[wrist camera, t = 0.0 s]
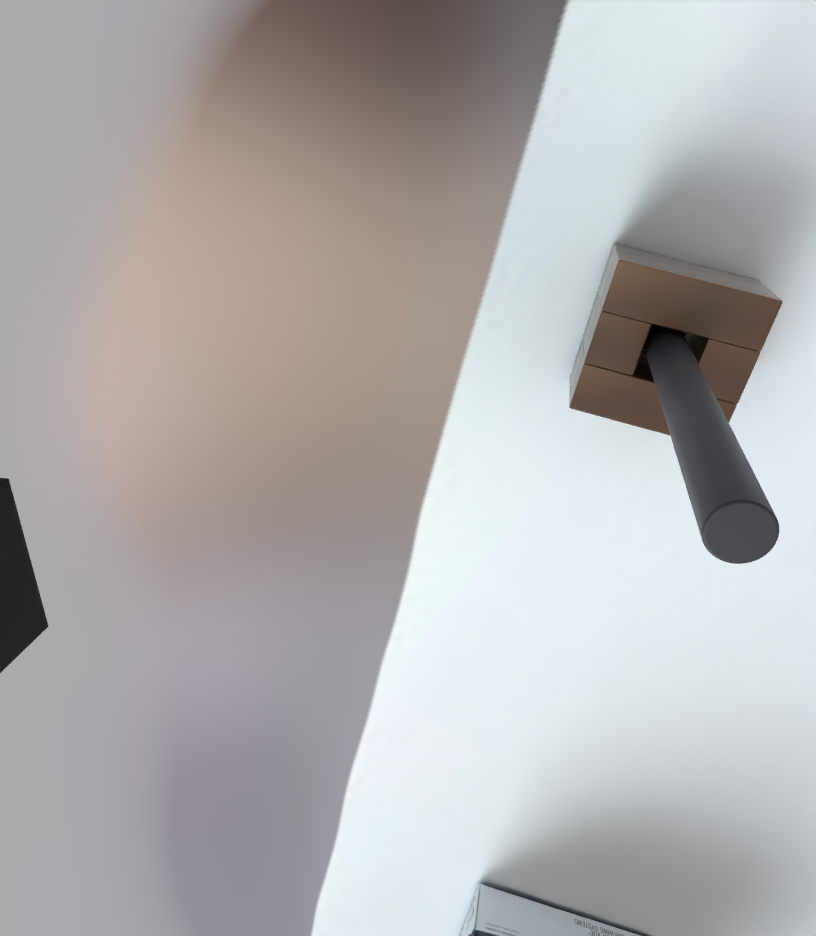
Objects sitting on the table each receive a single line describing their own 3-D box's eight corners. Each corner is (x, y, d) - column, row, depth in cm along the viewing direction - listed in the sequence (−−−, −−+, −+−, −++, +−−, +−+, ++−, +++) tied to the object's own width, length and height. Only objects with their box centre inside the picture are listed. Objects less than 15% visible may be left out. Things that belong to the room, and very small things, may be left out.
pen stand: (613, 243, 35) (618, 259, 31) (759, 280, 35) (783, 301, 31) (569, 378, 38) (568, 408, 34) (702, 414, 38) (718, 449, 34)
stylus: (662, 305, 36) (749, 487, 18) (687, 332, 36) (796, 538, 19) (632, 330, 37) (686, 529, 19) (656, 357, 37) (732, 577, 19)
